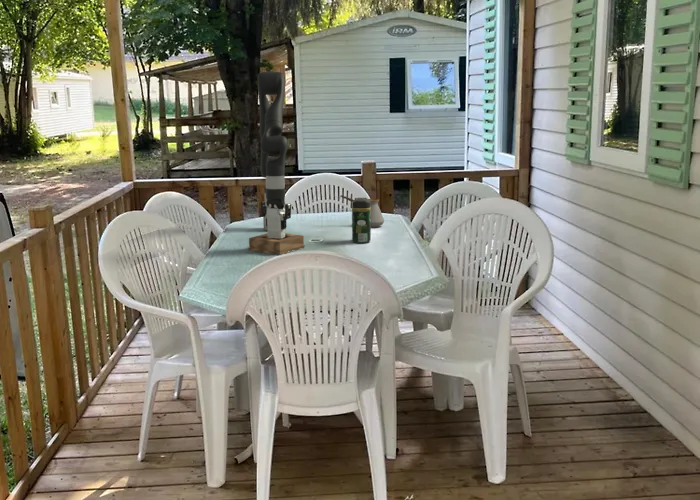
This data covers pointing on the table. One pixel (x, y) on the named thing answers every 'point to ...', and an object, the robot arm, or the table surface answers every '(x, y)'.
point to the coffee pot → (373, 212)
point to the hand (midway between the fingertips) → (276, 228)
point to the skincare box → (274, 224)
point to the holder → (276, 243)
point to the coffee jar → (361, 220)
